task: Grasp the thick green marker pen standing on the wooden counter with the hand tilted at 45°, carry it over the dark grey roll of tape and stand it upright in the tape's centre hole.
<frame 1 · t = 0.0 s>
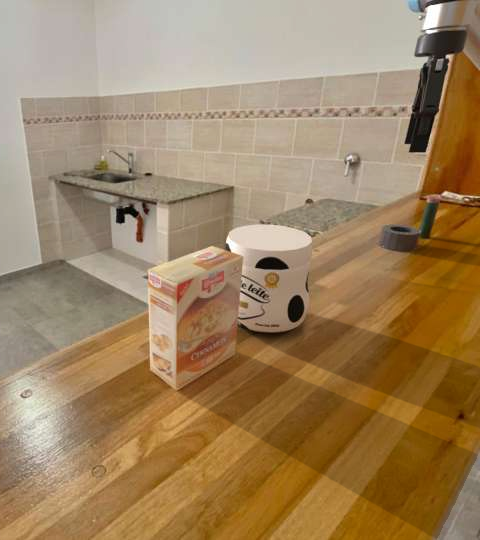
hand: (414, 148, 81), 30 cm above the table, tool pointing down, fingers open, 13 cm apart
coffeecake box: (193, 363, 68), on the table
green marker pen: (423, 236, 115), on the table
milk container: (259, 318, 80), on the table
tape: (396, 245, 110), on the table
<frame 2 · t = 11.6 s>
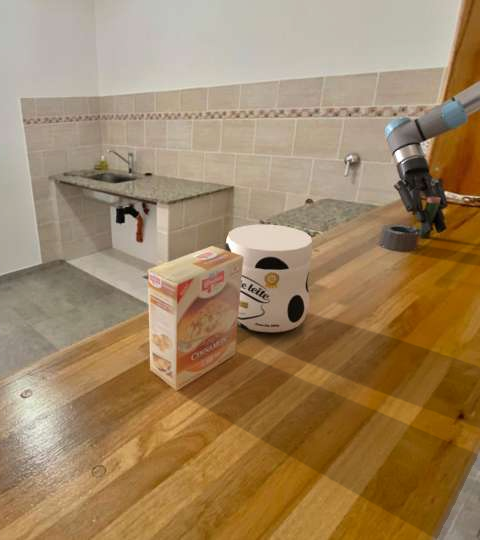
hand: (435, 231, 110), 3 cm above the table, tool tilted 45°, fingers closed on green marker pen, 3 cm apart
green marker pen: (423, 236, 115), on the table, touching gripper
everything else where it was.
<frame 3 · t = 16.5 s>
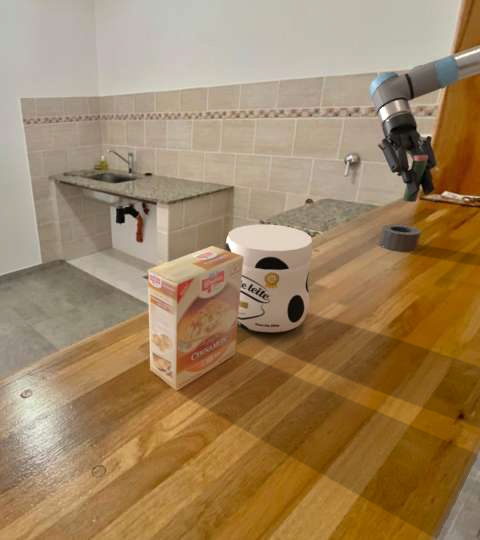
hand: (422, 192, 100), 16 cm above the table, tool tilted 45°, fingers closed on green marker pen, 3 cm apart
green marker pen: (409, 200, 105), point 13 cm above the table, touching gripper
everything else where it was.
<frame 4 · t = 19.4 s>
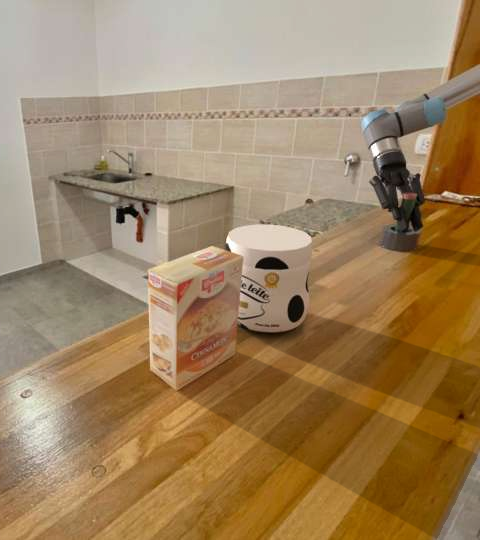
hand: (411, 229, 104), 6 cm above the table, tool tilted 45°, fingers closed on green marker pen, 3 cm apart
green marker pen: (399, 235, 109), point 3 cm above the table, touching gripper
everything else where it was.
when the fingers open (7 cm above the table, at t = 21.3 s): green marker pen drops 3 cm, resting on tape.
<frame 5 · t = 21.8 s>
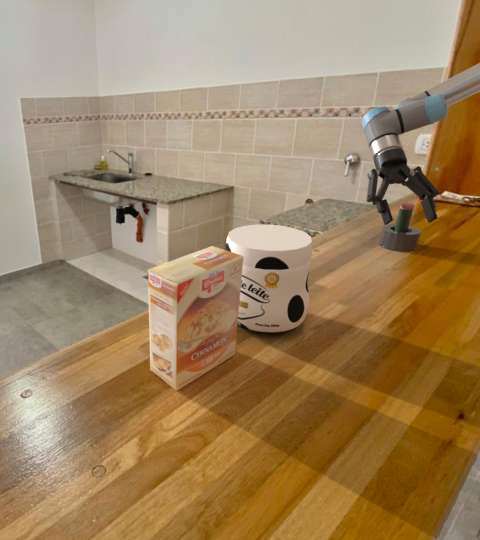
hand: (410, 221, 104), 8 cm above the table, tool tilted 45°, fingers open, 11 cm apart
green marker pen: (397, 244, 110), resting on tape
everything else where it was.
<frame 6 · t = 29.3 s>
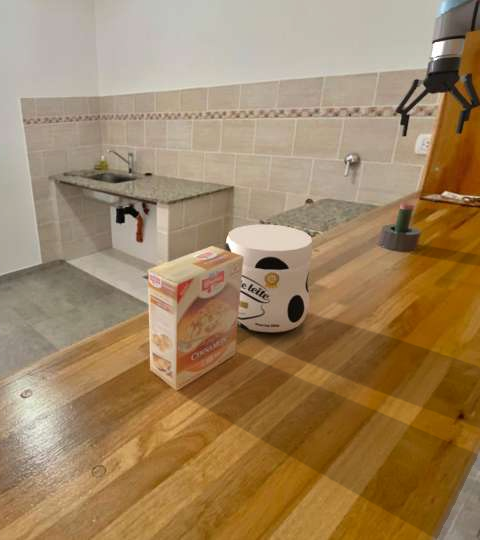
hand: (430, 135, 119), 27 cm above the table, tool pointing down, fingers open, 13 cm apart
nothing on the table moved.
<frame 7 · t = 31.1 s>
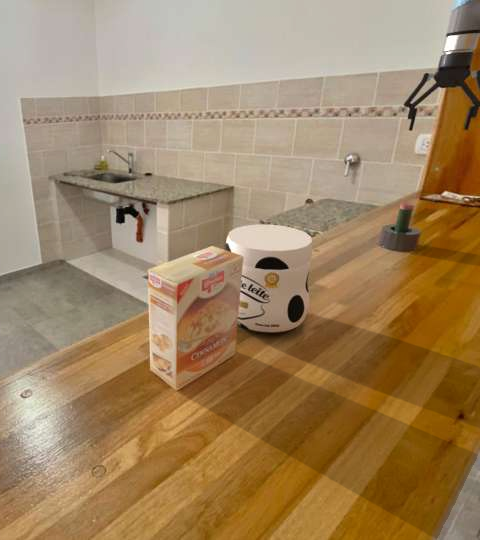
hand: (437, 130, 119), 29 cm above the table, tool pointing down, fingers open, 13 cm apart
nothing on the table moved.
at the end: green marker pen 0.0 cm off-centre in the tape, point 0.3 cm above the tape's base; green marker pen tilted 0°; the gripper is holding nothing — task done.
